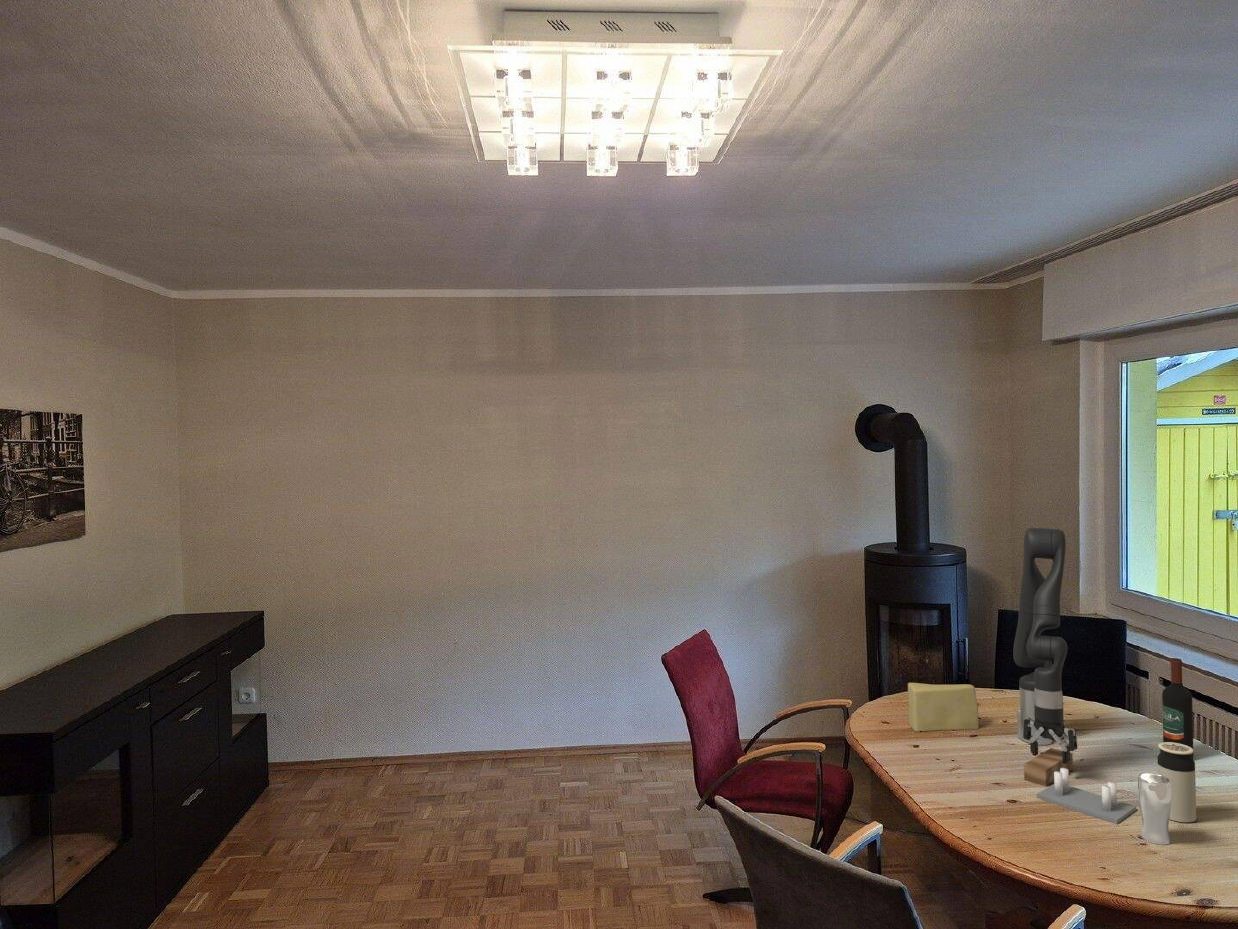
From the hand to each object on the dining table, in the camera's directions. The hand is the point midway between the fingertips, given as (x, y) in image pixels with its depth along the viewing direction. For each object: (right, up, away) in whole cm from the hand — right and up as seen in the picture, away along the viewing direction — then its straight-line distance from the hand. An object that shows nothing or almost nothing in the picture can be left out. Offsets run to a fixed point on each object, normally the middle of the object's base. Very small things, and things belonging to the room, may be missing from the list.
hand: (1050, 759), depth 229 cm
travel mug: (+18, -5, -27) cm, 33 cm away
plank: (0, -5, +1) cm, 5 cm away
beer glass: (+5, -5, -38) cm, 39 cm away
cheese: (-14, -5, +41) cm, 43 cm away
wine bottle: (+45, -3, +10) cm, 46 cm away
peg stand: (-1, -5, -18) cm, 19 cm away
